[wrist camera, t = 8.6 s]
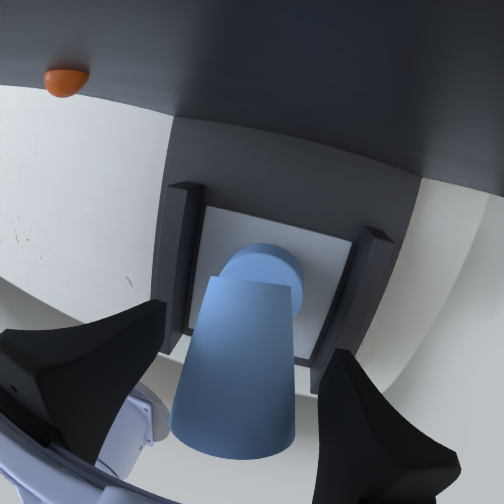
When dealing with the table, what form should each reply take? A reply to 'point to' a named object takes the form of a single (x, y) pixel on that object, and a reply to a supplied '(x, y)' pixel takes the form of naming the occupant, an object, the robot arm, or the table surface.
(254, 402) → the spotlight
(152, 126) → the table surface
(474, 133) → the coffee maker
